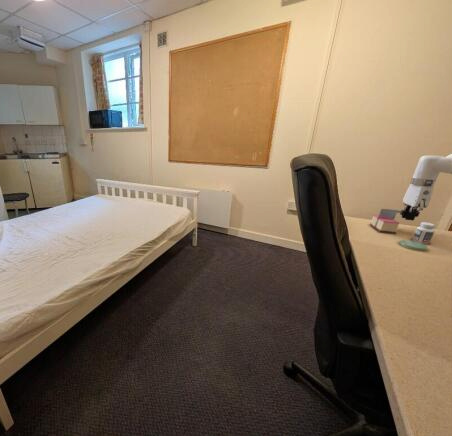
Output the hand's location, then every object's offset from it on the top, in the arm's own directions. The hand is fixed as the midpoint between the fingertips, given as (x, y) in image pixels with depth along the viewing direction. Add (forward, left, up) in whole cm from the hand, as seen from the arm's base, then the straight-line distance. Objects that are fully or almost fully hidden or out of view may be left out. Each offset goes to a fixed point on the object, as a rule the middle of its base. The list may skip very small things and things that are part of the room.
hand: (407, 218), depth 110 cm
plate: (+6, +20, -7) cm, 22 cm away
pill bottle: (-1, +12, -7) cm, 14 cm away
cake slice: (+8, -3, -6) cm, 11 cm away
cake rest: (+8, +3, -6) cm, 11 cm away
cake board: (+8, 0, -7) cm, 11 cm away
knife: (+4, 0, -1) cm, 4 cm away
